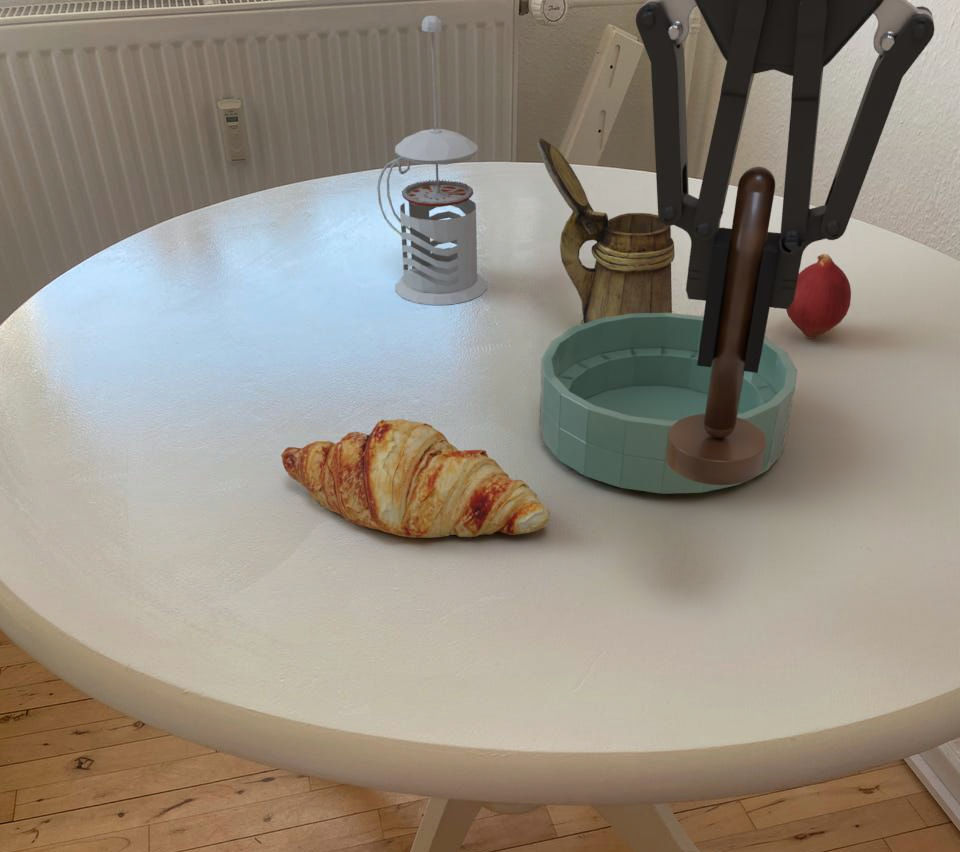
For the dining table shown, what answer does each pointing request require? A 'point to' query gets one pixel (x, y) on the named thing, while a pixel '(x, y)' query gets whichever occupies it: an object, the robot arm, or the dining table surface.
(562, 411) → the bowl
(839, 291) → the onion
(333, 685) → the dining table surface
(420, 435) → the croissant
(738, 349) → the wooden paper towel stand
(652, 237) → the wooden mug
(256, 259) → the dining table surface
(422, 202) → the french press
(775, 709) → the dining table surface
